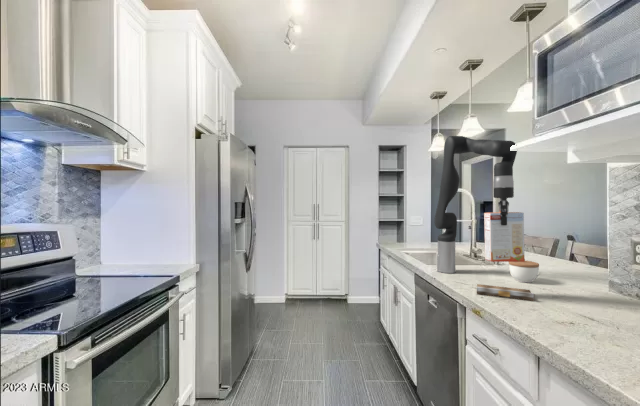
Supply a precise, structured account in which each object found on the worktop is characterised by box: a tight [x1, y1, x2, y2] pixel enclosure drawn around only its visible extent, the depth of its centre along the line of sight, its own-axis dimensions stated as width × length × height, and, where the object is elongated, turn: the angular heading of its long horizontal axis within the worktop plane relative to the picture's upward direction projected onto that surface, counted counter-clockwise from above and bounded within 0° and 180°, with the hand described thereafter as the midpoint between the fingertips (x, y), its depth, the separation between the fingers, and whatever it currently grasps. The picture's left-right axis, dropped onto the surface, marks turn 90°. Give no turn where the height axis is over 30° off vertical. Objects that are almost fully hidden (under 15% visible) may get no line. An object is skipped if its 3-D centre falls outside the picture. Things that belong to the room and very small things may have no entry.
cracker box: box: [483, 211, 526, 263], centre depth 132 cm, size 14×6×21 cm, turn 87°
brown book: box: [476, 283, 535, 302], centre depth 131 cm, size 20×12×3 cm, turn 62°
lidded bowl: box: [508, 260, 540, 284], centre depth 153 cm, size 13×13×11 cm
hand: (503, 224), depth 133 cm, fingers closed on cracker box, 8 cm apart
